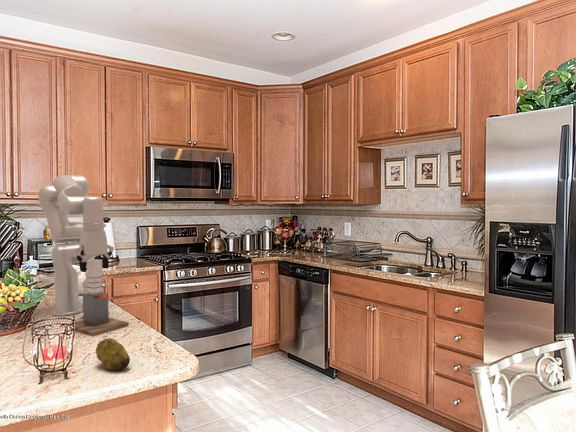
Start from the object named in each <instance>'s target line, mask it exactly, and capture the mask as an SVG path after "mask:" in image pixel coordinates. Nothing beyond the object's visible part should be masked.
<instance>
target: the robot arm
mask: <svg viewBox="0 0 576 432" xmlns="http://www.w3.org/2000/svg"><path fill="white" fill-rule="evenodd" d="M89 188H90V183H89V181H88V179H87V178H86V176H84V175H77V174H75V175H70V174H69V175H68V174H66V175H65V174H64V175H58V176H57V177H55V178H54V180H53V181H52V184H51V185H44V186H42V187H40V188H39V190H38V193H37V194H38V197H37V198H38V202H39V206H40V208H41V210H42V212H43V213H44V216H45V218H46V220H47V226H48V230H49V233H50V234H49V235H50V237H51V240H52V241H53V242H54V243H56V245H55V246H53V247H52V249H51V260H52V264H53V265H52V266H53V271H54V273H53V274H54V296H55V297H54V298H55V302H54V303H53V306H54V307H55V308H54V310H52V311H51V315H53V316H55V317H59V316H60V317H62V316H63V317H65V316H72V315H76V314H80V313H83V307H81V306H79V305H80V304H79V295H78V274H77V271H76V270H75V269H74V268H73V267H72V265H76V264H79V266H80V271H81V272H86V270H87V260H94V259H93V258H94V257H97V256H102V259H101V260H102V269H106V270H107V269H109V267H110V263H109V262H110V258H111V256H112V255H113V252H114V251H115V250H114V249H115V247H114V246H111V244H109V243H108V238H107V233H106V230H104V229H105V228H106V227H107V224H106V223H104V202H103V201H104V200H103V198H102V197H100V196H85V195H86V194H87V193H88V192H89ZM68 216H82V221H69V218H68Z"/></svg>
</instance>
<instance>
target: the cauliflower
mask: <svg viewBox="0 0 576 432" xmlns="http://www.w3.org/2000/svg"><path fill="white" fill-rule="evenodd" d="M72 267H73V268H74V269H75V270H76V271H77V274H78V296H80V295H82V296H83V294H84V290H83V281H84V280H85V279H86V272H87V269H86V272H81V271H80V265H76V264H72Z"/></svg>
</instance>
